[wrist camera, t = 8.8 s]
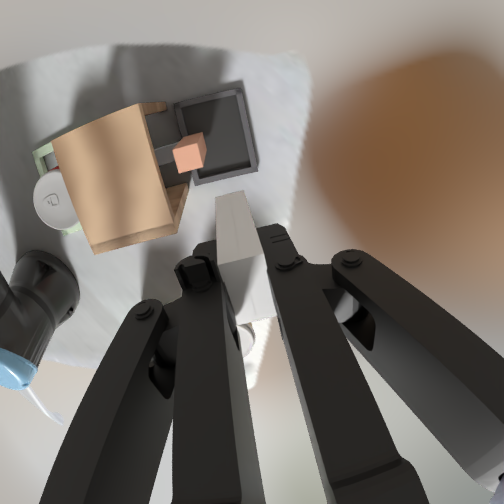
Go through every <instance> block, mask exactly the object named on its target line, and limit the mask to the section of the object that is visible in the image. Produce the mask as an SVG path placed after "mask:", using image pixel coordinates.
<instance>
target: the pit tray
mask: <svg viewBox="0 0 504 504" xmlns="http://www.w3.org/2000/svg"><path fill="white" fill-rule="evenodd" d="M174 108H175V112H176V116H177V120H178V124H179V128H180V132H181V136H182V138H183V137H185V136H189V135H193V134H197V133H201V132H203V136H204V140H205V144H206V148H207V151H206V156H205V161H204V165H203V167H201V168H197V169H194V170H191V173H192V177H193V181H194V184H195V186H198V185H201V184H205V183H210V182H214V181H218V180H222V179H226V178H231V177H235V176H239V175H244V174H248V173H253V172H258V168H257V163H256V158H255V153H254V148H253V143H252V138H251V133H250V128H249V124H248V119H247V114H246V109H245V105H244V100H243V95H242V91H241V88H237V89H232V90H227V91H223V92H218V93H214V94H210V95H205V96H201V97H197V98H194V99H190V100H186V101H182V102H179V103H175V104H174Z"/></svg>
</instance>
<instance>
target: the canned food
mask: <svg viewBox="0 0 504 504" xmlns="http://www.w3.org/2000/svg"><path fill="white" fill-rule="evenodd" d="M33 202H34V207H35V210H36V212H37V214H38V216H39V217H40V218H41V220H42V221H43V222H44V223H45V224H47V225H48V226H50V227H52V228H54V229H58V230H66V229H69V228H72V227H73V226H75V225H76V224H78V223H79V222H80V221H79V219H78V217H77V214H76V212H75V209H74V207H73V204H72V202H71V199H70V196H69V194H68V191H67V188H66V186H65V183H64V180H63V177H62V174H61V172H60V169H59V166H57V167H55V168H53V169H51V170H50V171H48V172H47V173H45V174H44V175H43V176H42V177H41V178H40V179H39V180H38V181H37V183H36V185H35V188H34V193H33Z"/></svg>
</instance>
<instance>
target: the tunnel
mask: <svg viewBox="0 0 504 504" xmlns="http://www.w3.org/2000/svg"><path fill="white" fill-rule="evenodd" d="M165 110H167V107H166V103H165V102H151V103H138V104H135V105H132V106H129V107H127V108H124V109H121V110H119V111H116V112H114V113H111V114H109V115H106V116H104V117H101V118H99V119H97V120H94V121H92V122H90V123H87V124H85V125H83V126H81V127H78V128H76V129H74V130H72V131H70V132H68V133H66V134H64V135H62V136H60V137H58V138H56V139H54V140H52V141H51V143H52V147H53V150H54V153H55V156H56V159H57V163H58V166H59V169H60V172H61V174H62V177H63V180H64V183H65V186H66V188H67V191H68V194H69V196H70V199H71V202H72V204H73V207H74V209H75V212H76V214H77V217H78V219H79V221H80V224H81V226H82V228H83V231H84V233H85V235H86V238H87V240H88V242H89V244H90V246H91V249H92V251H93V253H94V255H96V254H100V253H104V252H107V251H111V250H114V249H118V248H122V247H126V246H129V245H133V244H137V243H141V242H144V241H148V240H152V239H156V238H160V237H164V236H168V235H172V234H176V233H177V231H178V227H179V224H180V220H181V216H182V213H183V209H184V205H185V202H186V199H187V195H188V192H189V189H188V185H187V183H183V184H180V185H176V186H172V187H169V188H165V185H164V182H163V179H162V176H161V172H160V169H159V166H158V162H157V159H156V155H155V152H154V148H153V145H152V141H151V138H150V134H149V130H148V127H147V123H146V119H145V115H149V114H154V113H158V112H161V111H165Z"/></svg>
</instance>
